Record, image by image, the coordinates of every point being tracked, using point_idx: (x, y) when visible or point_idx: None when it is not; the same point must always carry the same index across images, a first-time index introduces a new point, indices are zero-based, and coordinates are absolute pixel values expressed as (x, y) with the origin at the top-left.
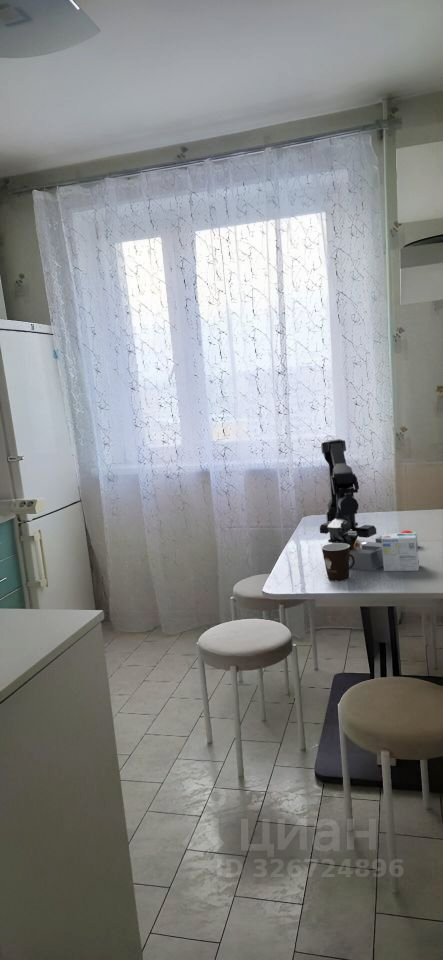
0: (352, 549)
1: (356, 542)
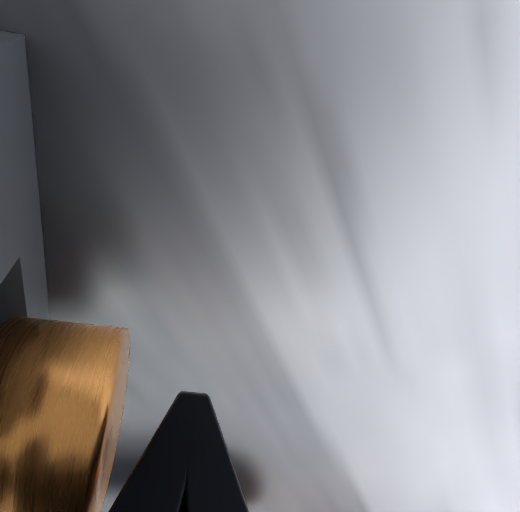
0: (45, 475)
1: None
